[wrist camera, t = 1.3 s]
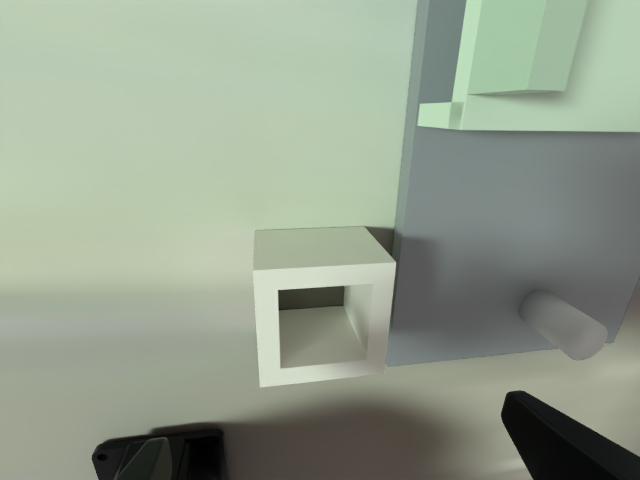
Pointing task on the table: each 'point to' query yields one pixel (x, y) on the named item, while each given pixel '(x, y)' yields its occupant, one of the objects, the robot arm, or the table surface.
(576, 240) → the housing plate
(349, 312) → the white hollow square block
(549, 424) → the robot arm
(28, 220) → the table surface
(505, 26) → the cover
